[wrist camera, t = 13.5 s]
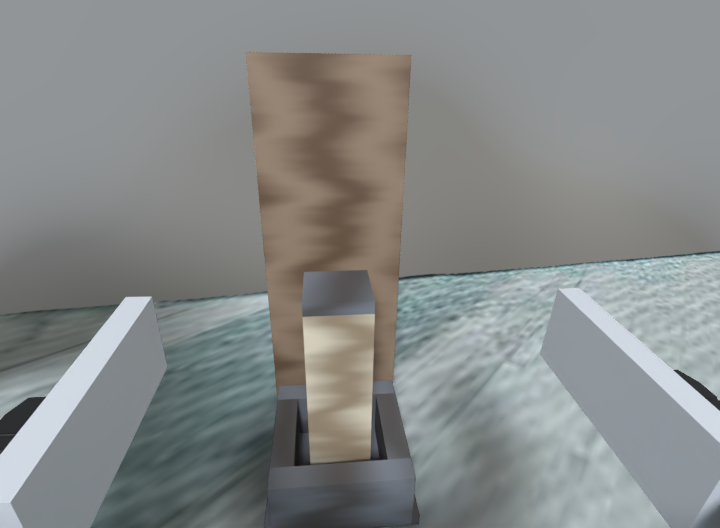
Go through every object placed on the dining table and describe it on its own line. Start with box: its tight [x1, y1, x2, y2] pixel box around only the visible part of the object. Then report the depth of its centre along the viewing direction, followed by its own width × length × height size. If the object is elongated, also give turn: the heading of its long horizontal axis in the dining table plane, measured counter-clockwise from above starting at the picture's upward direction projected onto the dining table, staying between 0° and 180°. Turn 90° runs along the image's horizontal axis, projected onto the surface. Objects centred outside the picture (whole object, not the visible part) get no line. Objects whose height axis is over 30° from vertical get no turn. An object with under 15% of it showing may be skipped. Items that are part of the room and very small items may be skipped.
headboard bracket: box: [246, 52, 420, 528], centre depth 29 cm, size 10×17×28 cm, turn 5°
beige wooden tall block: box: [302, 270, 375, 465], centre depth 28 cm, size 4×4×15 cm
